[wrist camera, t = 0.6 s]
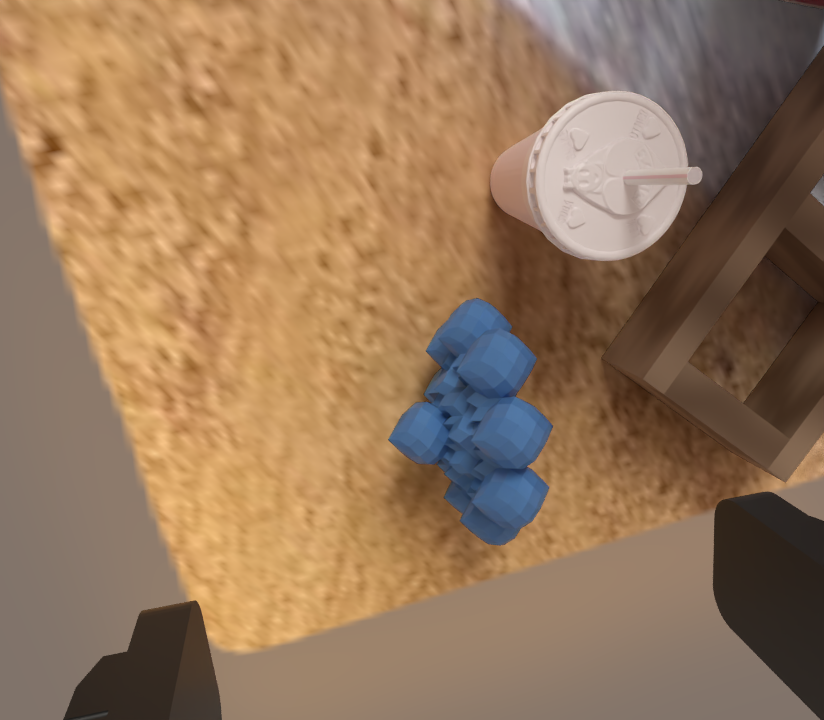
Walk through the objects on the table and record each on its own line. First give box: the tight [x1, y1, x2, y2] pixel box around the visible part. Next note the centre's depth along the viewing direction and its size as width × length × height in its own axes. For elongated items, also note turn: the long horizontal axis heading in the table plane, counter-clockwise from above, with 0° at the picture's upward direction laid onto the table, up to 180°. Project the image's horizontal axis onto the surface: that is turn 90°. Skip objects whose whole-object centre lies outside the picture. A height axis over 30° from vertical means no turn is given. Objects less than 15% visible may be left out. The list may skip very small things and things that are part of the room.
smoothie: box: [490, 91, 702, 261], centre depth 29 cm, size 6×6×14 cm
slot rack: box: [602, 46, 824, 482], centre depth 37 cm, size 22×11×4 cm, turn 145°
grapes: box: [388, 298, 553, 545], centre depth 32 cm, size 12×7×12 cm, turn 6°
